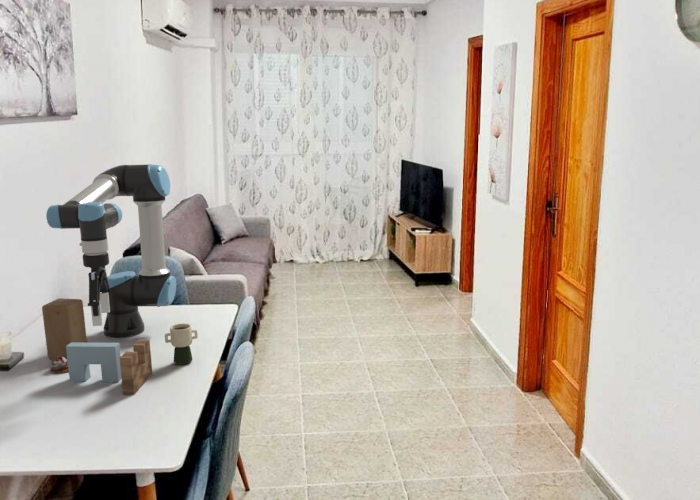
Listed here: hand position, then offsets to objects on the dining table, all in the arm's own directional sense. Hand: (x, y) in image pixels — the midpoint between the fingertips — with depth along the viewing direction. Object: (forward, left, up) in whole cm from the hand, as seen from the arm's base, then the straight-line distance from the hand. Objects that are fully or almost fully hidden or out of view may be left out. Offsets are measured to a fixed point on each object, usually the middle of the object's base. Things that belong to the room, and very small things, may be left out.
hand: (101, 318), depth 212 cm
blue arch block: (-1, -4, -21) cm, 22 cm away
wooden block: (-21, -23, -21) cm, 38 cm away
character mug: (-16, +20, -21) cm, 33 cm away
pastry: (-10, -20, -22) cm, 31 cm away
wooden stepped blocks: (+2, +11, -21) cm, 24 cm away
